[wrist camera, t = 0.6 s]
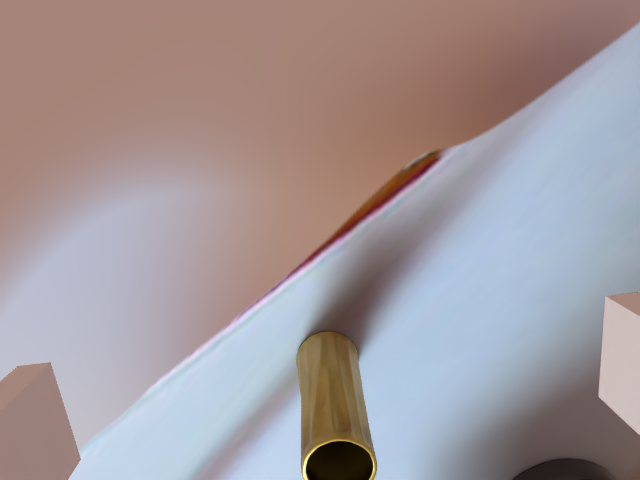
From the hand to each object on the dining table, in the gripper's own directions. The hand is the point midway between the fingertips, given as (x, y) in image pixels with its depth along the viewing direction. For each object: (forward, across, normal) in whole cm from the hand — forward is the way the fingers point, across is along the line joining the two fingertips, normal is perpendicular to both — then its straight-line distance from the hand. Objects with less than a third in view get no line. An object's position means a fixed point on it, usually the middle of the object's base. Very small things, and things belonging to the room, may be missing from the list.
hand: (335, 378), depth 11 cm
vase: (+30, 0, +17) cm, 35 cm away
